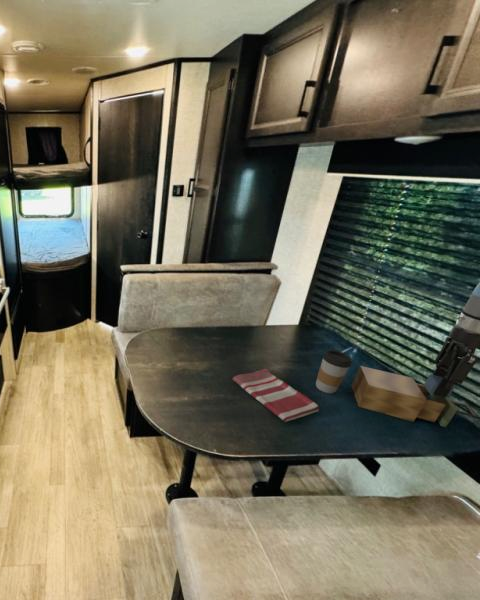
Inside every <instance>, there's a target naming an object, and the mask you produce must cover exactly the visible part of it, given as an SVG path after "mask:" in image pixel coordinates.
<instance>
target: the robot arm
mask: <svg viewBox="0 0 480 600" xmlns="http://www.w3.org/2000/svg"><path fill="white" fill-rule="evenodd" d="M456 319H457V320H456V322H455V325H453V326H452V328H451V330H450V331H449V333H448V336H446V338H445V341H444V344H443V345H442V347H441V349H440V351H439V352H438V354H437V356H436V357H435V359H434V364H435V369H434V371H433V373H432V375H436V376H441V377H442V380H441V382H440V383H439V385H438V387H437V388H436V390H435V392H434V395H438V396H442V397H447V395H448V393H449V392H450V390H451V389H452V387H453V385H455V384H458V385H459V384H460V385H462V384H463V383H464V381H465V380H466V378H467V377H468V375H469V373H470V372H471V370H472V369H473V367H474V366H475V365H476V364H477V363H478V362H479V361H480V358H479V357H475V355H474V354H475V353H476V349H477V348H480V282H479V283H478V284H476V286H475V288H474V289H473V290H472V292H471V295H470V297H469V299H468V300H467V302H466V304H465V306H464V308H463V310H462V311H461V313H460V315H459V316H457V318H456Z"/></svg>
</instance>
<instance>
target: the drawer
mask: <svg viewBox="0 0 480 600" xmlns="http://www.w3.org/2000/svg"><path fill="white" fill-rule="evenodd" d="M416 384H417V385H418V387H419V388H420V390H421V392H422V393H423V395H424V396H425V398H426V399H427V400H426V402H425V404H424V405H423V407H422V409H421V410H420V412H419V414H418V415H417V417H416V419H421V420H424V421H429V422H433V423H435V422H436V421H437V422H438V424H439V426H440V427H444V428H447V426H448V425H449V423H450V422H451V420H452V419H453V418H454V416H455V414H460V415H464V416H466V417H467V416H468V417H471V418H473V419H475V420H478V419H479V416H478V414H477V413H476V412H475V410H474V409H473V408H472V407H471V405H470V404H469V403H460V402H455V401H452V399H451V398H450V397H449V398H448V397H442V396H438V395H434V394H431V393H429V392H428V391H427V389H426V388H425V386H424V384H421V383H416ZM430 395H431V396H430ZM457 406H459V407H464V408H465V409H466V411H467V412H464V411H461V410H458V407H457Z"/></svg>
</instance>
